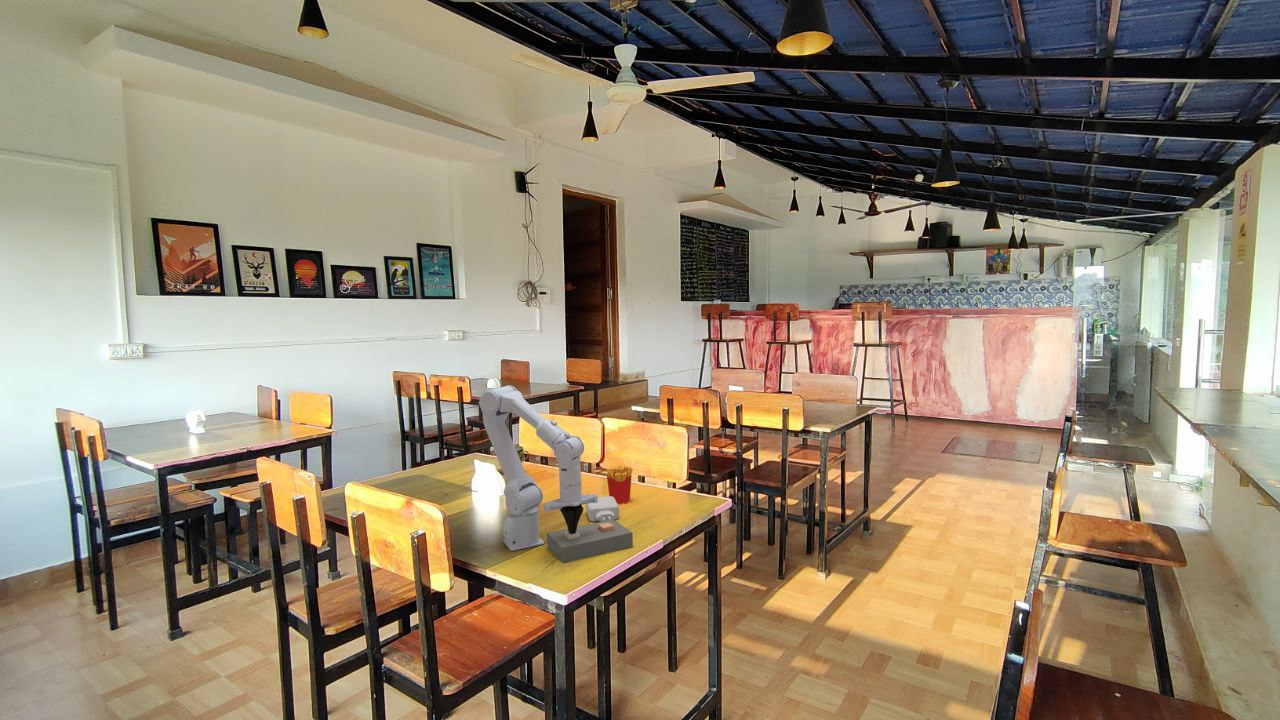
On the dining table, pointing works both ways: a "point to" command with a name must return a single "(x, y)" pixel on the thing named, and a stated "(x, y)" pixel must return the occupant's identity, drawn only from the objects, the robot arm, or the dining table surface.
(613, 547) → the key box
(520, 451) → the ceramic cup
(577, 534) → the offwhite key
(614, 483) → the french fries
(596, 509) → the charger
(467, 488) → the dining table surface
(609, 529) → the terracotta key
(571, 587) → the dining table surface
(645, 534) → the dining table surface
